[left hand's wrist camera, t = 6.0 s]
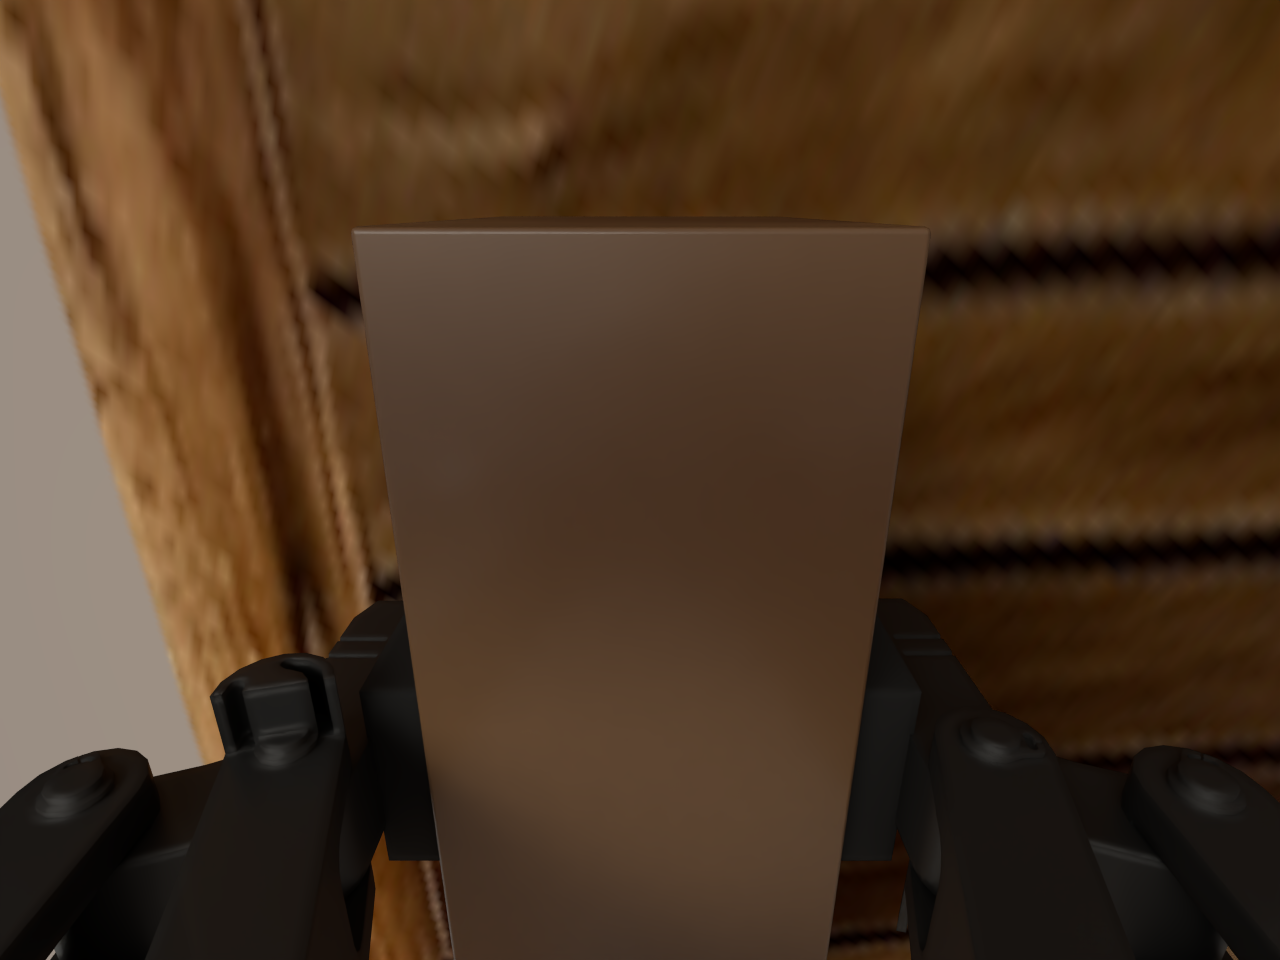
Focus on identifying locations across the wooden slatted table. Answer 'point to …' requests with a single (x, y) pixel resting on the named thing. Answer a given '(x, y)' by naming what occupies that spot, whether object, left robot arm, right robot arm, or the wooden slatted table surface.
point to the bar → (640, 562)
